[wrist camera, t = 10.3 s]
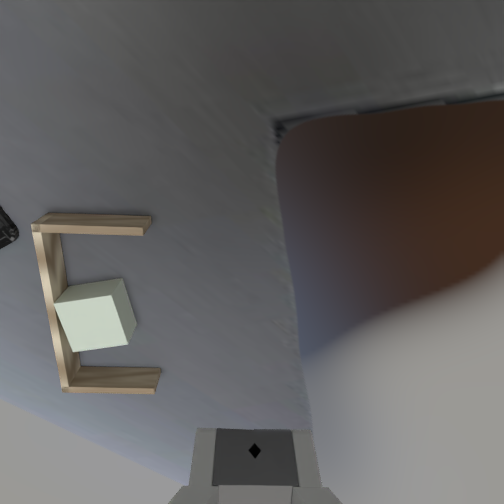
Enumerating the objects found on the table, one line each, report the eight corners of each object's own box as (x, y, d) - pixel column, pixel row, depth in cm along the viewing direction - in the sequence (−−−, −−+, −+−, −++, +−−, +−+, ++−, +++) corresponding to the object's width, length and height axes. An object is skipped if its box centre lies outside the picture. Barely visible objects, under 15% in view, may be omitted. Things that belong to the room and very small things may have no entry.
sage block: (69, 285, 43) (53, 303, 40) (122, 277, 43) (111, 295, 39) (86, 330, 46) (73, 352, 42) (137, 323, 45) (128, 344, 42)
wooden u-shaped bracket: (48, 212, 40) (30, 223, 37) (150, 216, 40) (142, 227, 37) (74, 371, 48) (62, 392, 44) (160, 373, 48) (154, 394, 45)
